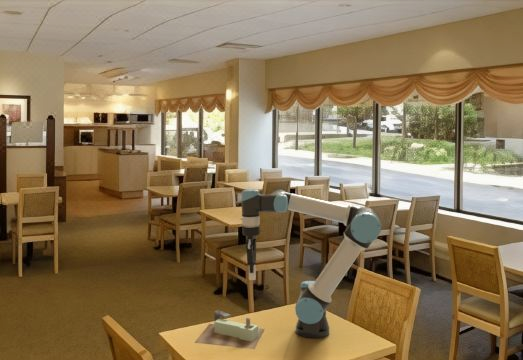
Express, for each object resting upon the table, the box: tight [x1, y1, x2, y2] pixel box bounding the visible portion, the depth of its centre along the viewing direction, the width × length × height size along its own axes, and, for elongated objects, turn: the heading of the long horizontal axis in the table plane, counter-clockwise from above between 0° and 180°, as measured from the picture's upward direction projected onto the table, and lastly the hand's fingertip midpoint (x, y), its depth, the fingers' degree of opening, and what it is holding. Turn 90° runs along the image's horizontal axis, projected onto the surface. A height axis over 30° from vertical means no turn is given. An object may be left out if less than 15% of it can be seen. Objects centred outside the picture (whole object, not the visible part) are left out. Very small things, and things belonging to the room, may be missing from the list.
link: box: [213, 318, 259, 341], centre depth 235 cm, size 19×6×5 cm, turn 65°
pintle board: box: [194, 309, 266, 350], centre depth 234 cm, size 26×22×10 cm
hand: (252, 279), depth 232 cm, fingers closed
